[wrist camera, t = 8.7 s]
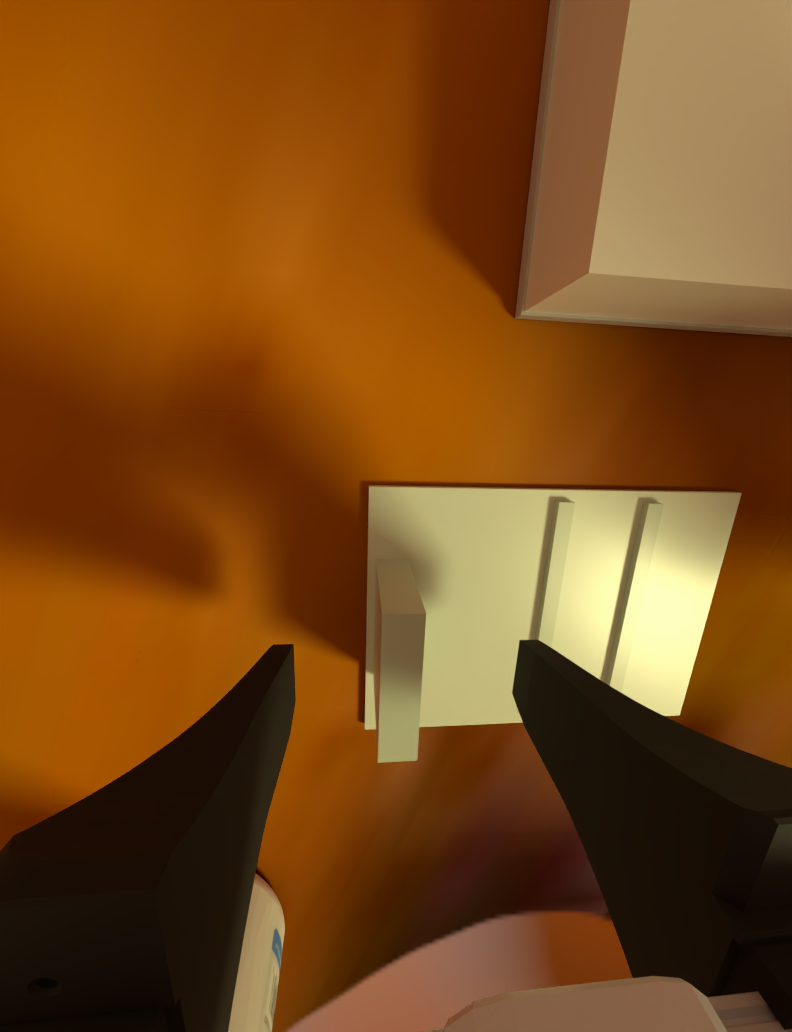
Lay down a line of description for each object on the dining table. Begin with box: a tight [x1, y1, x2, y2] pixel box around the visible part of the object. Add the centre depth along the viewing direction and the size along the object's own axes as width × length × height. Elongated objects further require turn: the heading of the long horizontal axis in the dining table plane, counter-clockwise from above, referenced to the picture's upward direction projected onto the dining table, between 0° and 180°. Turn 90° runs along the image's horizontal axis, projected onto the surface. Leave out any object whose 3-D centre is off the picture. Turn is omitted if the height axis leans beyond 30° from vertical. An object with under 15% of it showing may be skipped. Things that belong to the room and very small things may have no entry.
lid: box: [365, 485, 742, 763], centre depth 14 cm, size 14×10×5 cm
